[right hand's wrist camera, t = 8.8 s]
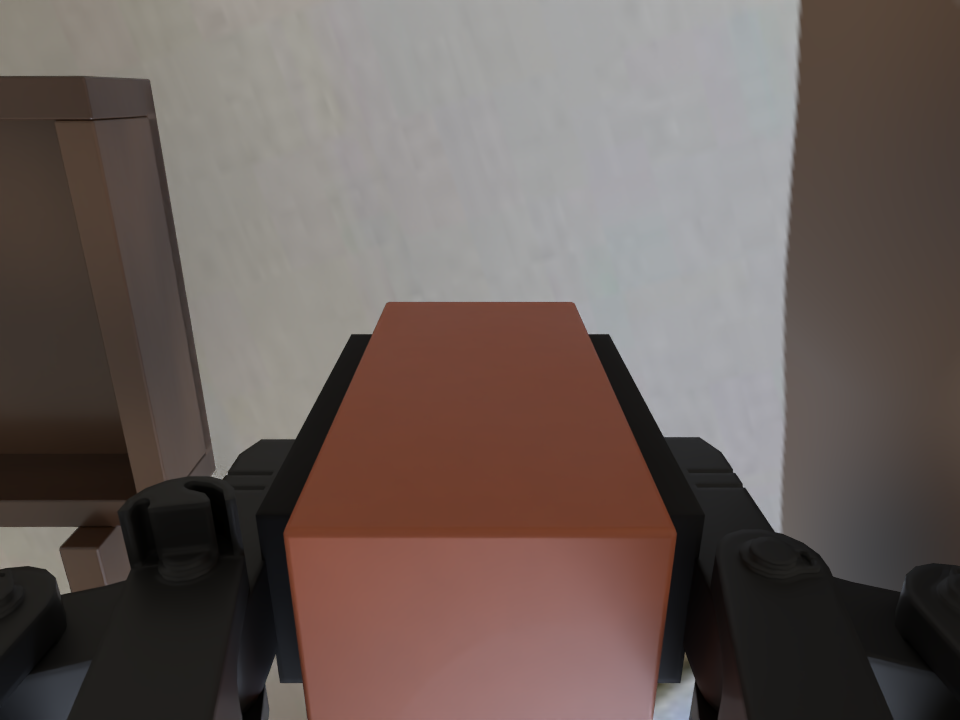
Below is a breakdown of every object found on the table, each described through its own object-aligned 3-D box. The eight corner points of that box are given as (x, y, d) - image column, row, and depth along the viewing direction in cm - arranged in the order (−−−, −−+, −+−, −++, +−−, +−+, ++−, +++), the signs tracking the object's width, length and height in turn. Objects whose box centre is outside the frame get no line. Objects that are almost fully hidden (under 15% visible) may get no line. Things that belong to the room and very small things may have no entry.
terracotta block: (385, 300, 14) (279, 531, 7) (574, 301, 14) (680, 532, 7) (394, 465, 16) (316, 805, 8) (566, 465, 16) (643, 805, 8)
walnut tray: (-299, 80, 19) (-513, 75, 15) (150, 79, 19) (59, 74, 15) (-29, 758, 30) (-113, 867, 25) (265, 758, 30) (229, 867, 25)
